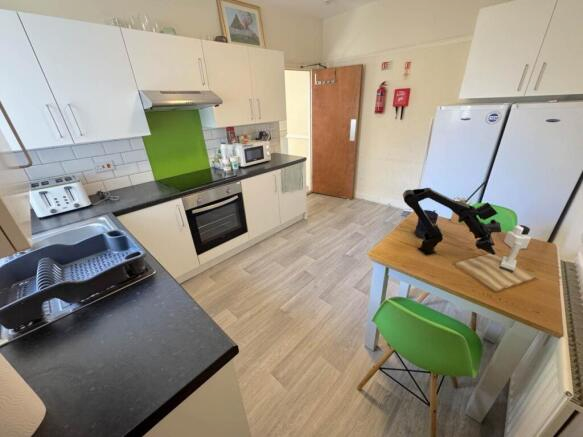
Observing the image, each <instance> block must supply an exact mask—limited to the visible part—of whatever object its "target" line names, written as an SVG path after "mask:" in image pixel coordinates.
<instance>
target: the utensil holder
mask: <svg viewBox="0 0 583 437" xmlns="http://www.w3.org/2000/svg"><path fill="white" fill-rule="evenodd" d="M485 184H486V181H483V182H482V183H481V185H479V186H478V187H477V188H476V190H474V192H473V193H471V195H470V196H469V197H467V198H465V197H454V198H452V200H455V201H461V202H464V203H466V204H467V205H470V206H471V204H473V201H472V200H471V198H472V197H473V196H474V195H475V194H476V193H477V192H478V191H479V190H480V189H481V188H482V187H484V185H485ZM458 218H459V216H458V215H457V214H455V213H454V212H453V211H452V210H451V215H450V220H449V221H450V222H451V223H453V224H462V222H460V223H459V222H458Z"/></svg>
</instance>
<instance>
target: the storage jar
mask: <svg viewBox="0 0 583 437" xmlns="http://www.w3.org/2000/svg"><path fill="white" fill-rule="evenodd" d="M423 211H424V212H425V214H426V215H427V217H428V218H429V220H430V221H431V223H432V224H433V225H436V224H437V222H438V218H439V214H438V212H436V210H435V209H433V210H430V209H423ZM426 232H427V230H426V228H425V227H424V225H423V224H422V222H421V221H420V219H419V218H418V217H417V224H416V226H415V230H414V236H415V237H416V238H418V239H421V240H424V238H423V234H424V233H426Z"/></svg>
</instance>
